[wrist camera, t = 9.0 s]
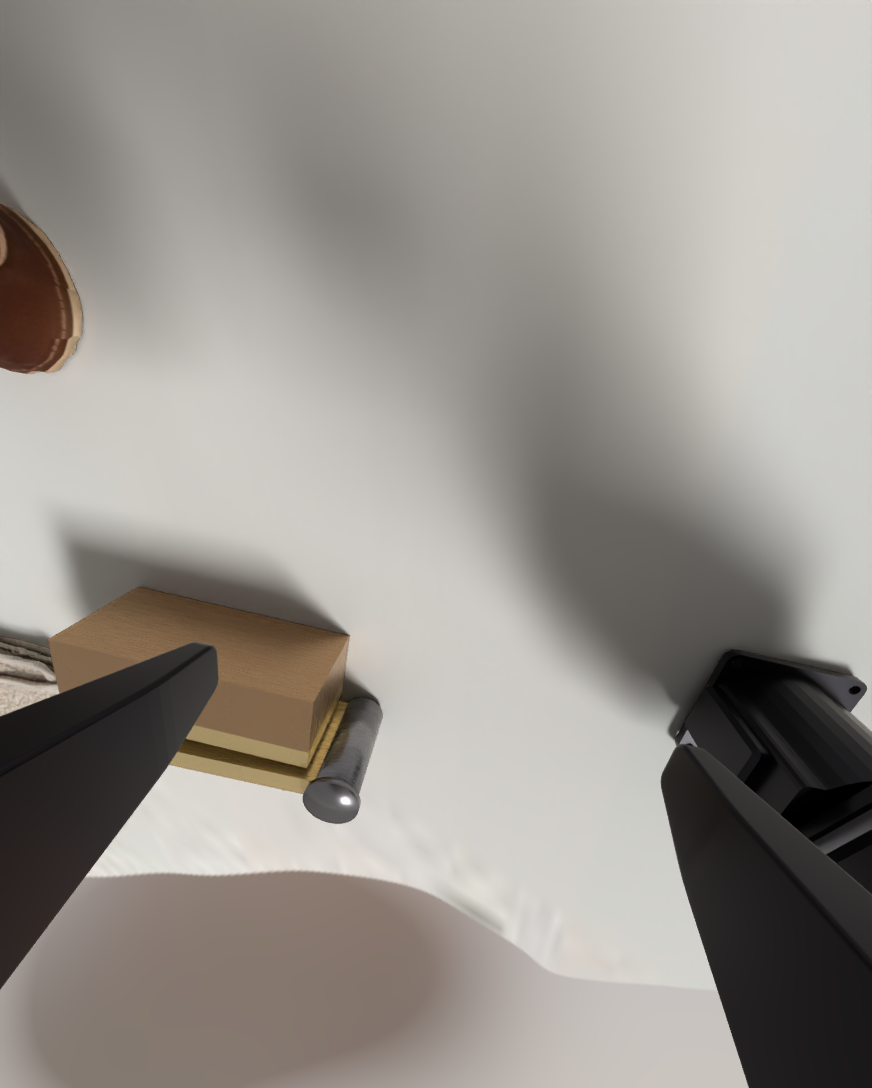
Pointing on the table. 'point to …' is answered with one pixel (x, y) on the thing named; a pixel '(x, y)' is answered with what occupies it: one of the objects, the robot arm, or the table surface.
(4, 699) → the washcloth
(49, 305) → the brown rounded piece
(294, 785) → the swing leaf
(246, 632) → the block
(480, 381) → the table surface
